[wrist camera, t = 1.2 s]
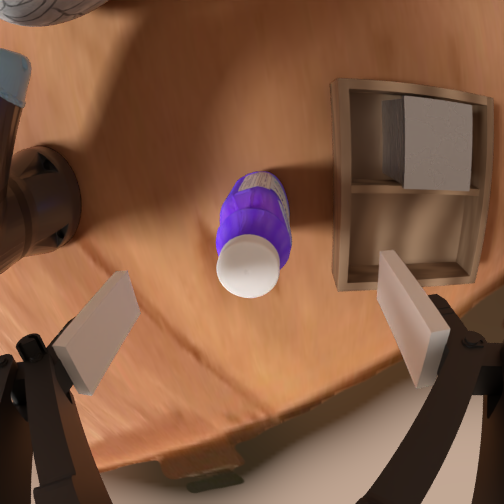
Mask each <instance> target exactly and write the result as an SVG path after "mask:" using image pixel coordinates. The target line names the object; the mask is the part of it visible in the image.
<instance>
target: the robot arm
mask: <svg viewBox="0 0 504 504" xmlns="http://www.w3.org/2000/svg"><path fill="white" fill-rule="evenodd" d="M30 76H31V63H30V61H29V59H28V58H27V57H26V56H24V55H22V54H20V53H16V52H13V51H10V50H6V49H2V48H0V274H1V273H3V272H4V271H5V270H7V269H8V268H9V267H11V266H12V265H13V264H15V263H16V262H17V261H19V260H20V259H21V258H23V257H27V256H33V255H39V254H45V253H49V252H52V251H55V250H57V249H58V248H60V247H61V246H62V245H64V244H65V243H67V242H68V241H69V240H70V239H71V238H72V236H73V235H74V233H75V231H76V229H77V227H78V224H79V220H80V214H81V197H80V191H79V186H78V183H77V180H76V177H75V175H74V173H73V171H72V169H71V167H70V166H69V164H68V163H67V161H66V160H65V159H64V158H63V157H62V156H61V155H60V154H59V153H57V152H56V151H54V150H53V149H51V148H48V147H44V146H35V147H31V148H27V149H23V150H21V151H19V152H17V153H16V154H14V155H13V149H14V144H15V139H16V134H17V129H18V125H19V121H20V117H21V113H22V109H23V108H24V107H25V96H26V92H27V88H28V84H29V80H30ZM12 155H13V156H12ZM377 300H378V302H379V305H380V307H381V309H382V311H383V313H384V315H385V317H386V320H387V322H388V324H389V326H390V329H391V331H392V333H393V335H394V337H395V340H396V342H397V344H398V347H399V349H400V351H401V354H402V356H403V358H404V361H405V363H406V365H407V368H408V370H409V373H410V375H411V378H412V380H413V383H414V385H415V388H416V389H418V388H423V387H428V386H433V387H432V389H431V392H430V393H429V395H428V397H427V399H426V401H425V403H424V405H423V407H422V408H421V410H420V412H419V414H418V416H417V417H416V419H415V421H414V423H413V424H412V426H411V428H410V430H409V431H408V433H407V434H406V436H405V438H404V439H403V441H402V443H401V444H400V446H399V447H398V449H397V451H396V452H395V454H394V455H393V457H392V458H391V460H390V461H389V463H388V464H387V465H386V467H385V468H384V470H383V471H382V473H381V474H380V476H379V477H378V478H377V480H376V481H375V482H374V484H373V485H372V486H371V488H370V489H369V491H368V492H367V493H366V494H365V495H364V496H363V497H362V498H360V499H359V500H358V501H357V503H356V504H421V502H422V501H423V499H424V497H425V495H426V494H427V492H428V490H429V488H430V487H431V485H432V483H433V481H434V479H435V478H436V476H437V474H438V472H439V470H440V468H441V466H442V464H443V462H444V460H445V458H446V456H447V454H448V452H449V449H450V447H451V445H452V443H453V441H454V439H455V436H456V434H457V432H458V429H459V427H460V425H461V422H462V420H463V417H464V414H465V412H466V409H467V406H468V404H469V401H470V399H471V396H472V395H483V418H482V433H481V444H480V454H479V462H478V470H477V476H476V483H475V488H474V494H473V499H472V504H504V341H503V343H487V342H486V340H485V338H484V337H483V336H482V335H480V334H479V333H476V332H473V331H468V330H467V329H466V327H465V326H464V324H463V323H462V322H461V320H460V319H459V317H458V316H457V315H456V314H455V312H454V311H453V309H452V308H451V306H450V305H449V304H448V302H447V301H446V300H445V299H444V298H442V297H441V296H439V295H437V294H433V295H427V294H426V292H425V291H424V290H423V288H422V287H421V285H420V284H419V283H418V281H417V280H416V279H415V277H414V276H413V275H412V273H411V272H410V271H409V269H408V268H407V267H406V265H405V264H404V263H403V261H402V260H401V259H400V257H399V256H398V255H397V253H396V252H395V251H394V250H387V251H380V256H379V274H378V289H377ZM140 314H141V312H140V309H139V306H138V303H137V300H136V297H135V294H134V291H133V287H132V284H131V281H130V277H129V274H128V271H116V272H115V273H114V274H113V275H112V276H111V277H110V278H109V279H108V280H107V282H106V283H105V284H104V285H103V286H102V287H101V288H100V289H99V291H98V292H97V293H96V294H95V295H94V296H93V297H92V298H91V300H90V301H89V302H88V303H87V304H86V305H85V307H84V308H83V309H82V310H81V311H80V312H79V314H78V315H77V316H76V317H74V318H73V319H71V320H70V321H69V322H68V323H67V324H66V325H65V326H64V327H63V330H61V331H60V332H59V335H57V336H56V337H55V338H54V339H53V341H52V342H51V343H50V344H49V346H48V347H47V348H46V347H45V345H44V343H43V341H42V339H41V337H40V335H39V334H29V335H27V336H25V337H23V338H22V339H21V340H19V342H18V343H17V345H16V349H17V350H18V352H19V354H20V356H21V358H22V359H23V361H24V362H17V363H16V362H15V360H14V358H13V356H12V355H10V354H5V355H1V356H0V504H31V473H32V471H31V470H32V456H33V453H34V459H35V464H36V469H37V474H38V479H39V483H40V486H39V487H36V488H34V490H33V494H34V499H35V503H36V504H113V503H112V501H111V499H110V497H109V495H108V492H107V490H106V488H105V485H104V483H103V481H102V478H101V476H100V474H99V471H98V469H97V466H96V464H95V461H94V458H93V456H92V453H91V450H90V448H89V445H88V442H87V439H86V436H85V433H84V430H83V427H82V424H81V421H80V418H79V414H78V411H77V408H76V404H75V401H74V397H73V395H72V393H71V391H70V388H71V387H72V385H74V386H75V388H76V390H77V391H78V393H79V394H84V395H90V396H92V395H93V393H94V392H95V390H96V388H97V386H98V384H99V383H100V381H101V379H102V377H103V376H104V374H105V372H106V370H107V369H108V367H109V365H110V364H111V362H112V360H113V358H114V357H115V355H116V353H117V352H118V350H119V348H120V347H121V345H122V343H123V342H124V340H125V338H126V337H127V335H128V333H129V332H130V330H131V328H132V327H133V325H134V323H135V322H136V320H137V319H138V317H139V315H140ZM437 375H438V377H437ZM436 377H437V379H436ZM435 380H436V381H435ZM434 382H435V383H434ZM11 399H12V400H13V403H12V400H11Z"/></svg>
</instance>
